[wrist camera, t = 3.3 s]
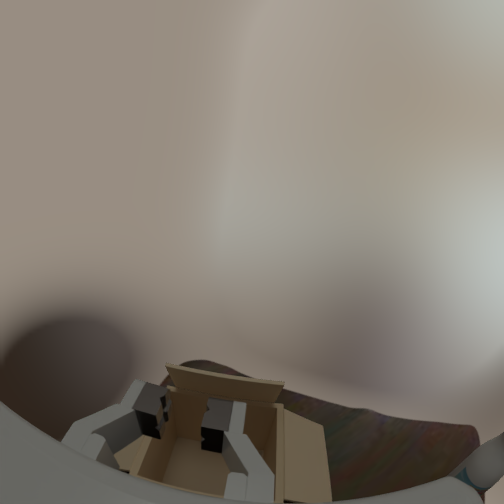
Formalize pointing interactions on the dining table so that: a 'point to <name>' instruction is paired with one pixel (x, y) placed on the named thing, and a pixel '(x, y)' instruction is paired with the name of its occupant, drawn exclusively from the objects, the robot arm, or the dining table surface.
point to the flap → (224, 384)
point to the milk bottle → (483, 466)
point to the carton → (213, 464)
